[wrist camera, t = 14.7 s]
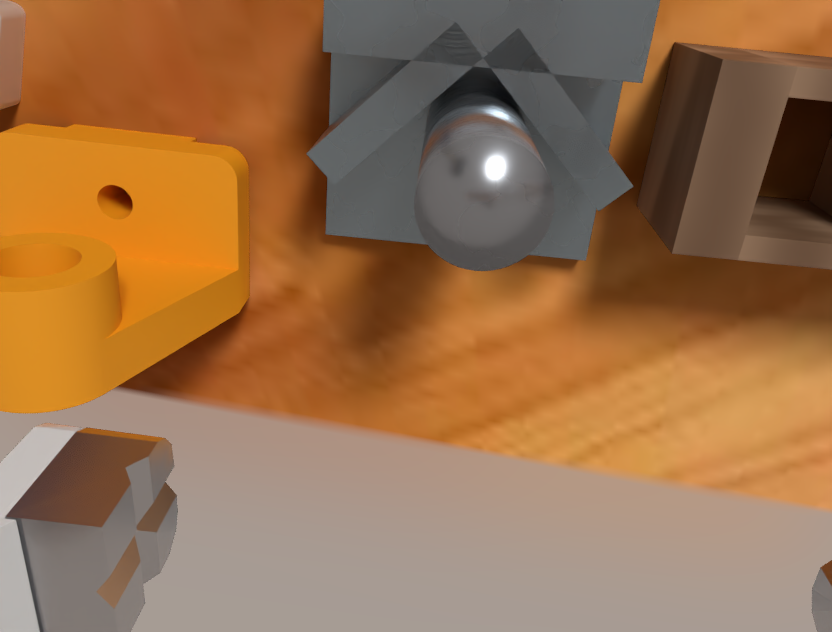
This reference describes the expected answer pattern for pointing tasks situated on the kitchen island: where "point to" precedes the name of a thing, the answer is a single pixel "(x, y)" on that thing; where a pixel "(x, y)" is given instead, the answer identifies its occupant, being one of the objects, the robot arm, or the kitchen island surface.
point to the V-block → (481, 58)
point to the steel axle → (481, 179)
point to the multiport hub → (11, 52)
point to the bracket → (112, 256)
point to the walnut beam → (734, 158)
